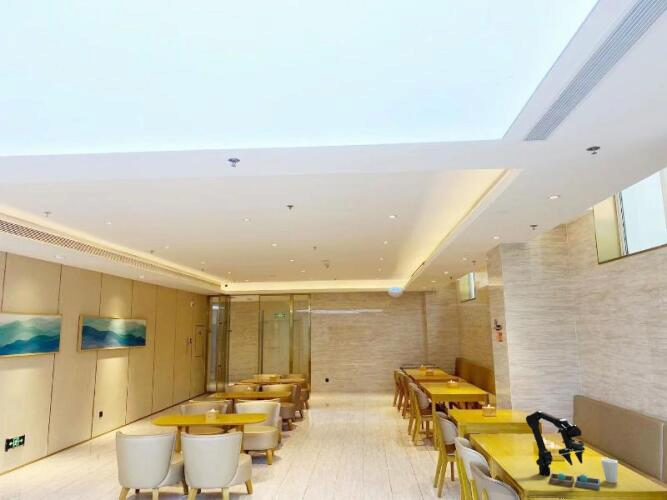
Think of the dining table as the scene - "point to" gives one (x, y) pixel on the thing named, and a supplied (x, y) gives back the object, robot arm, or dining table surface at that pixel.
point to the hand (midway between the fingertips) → (576, 464)
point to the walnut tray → (567, 482)
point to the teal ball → (561, 476)
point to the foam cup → (610, 469)
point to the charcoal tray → (588, 483)
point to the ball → (583, 478)
